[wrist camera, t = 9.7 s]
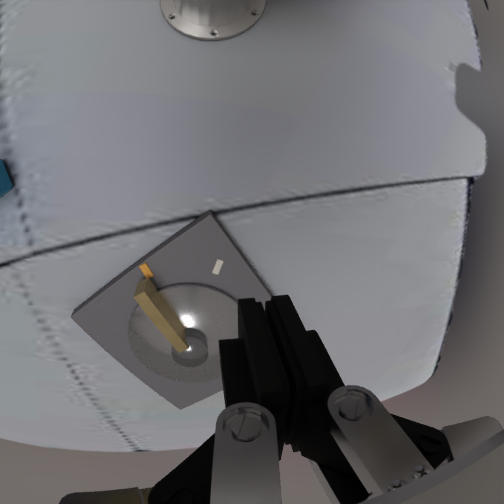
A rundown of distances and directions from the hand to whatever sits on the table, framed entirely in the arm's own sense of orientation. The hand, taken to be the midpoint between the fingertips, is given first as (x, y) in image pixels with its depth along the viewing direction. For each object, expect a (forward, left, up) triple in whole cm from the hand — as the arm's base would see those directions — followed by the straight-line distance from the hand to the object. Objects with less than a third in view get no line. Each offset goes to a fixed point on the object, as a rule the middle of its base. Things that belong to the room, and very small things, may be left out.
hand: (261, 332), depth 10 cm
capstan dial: (+16, +15, -27) cm, 34 cm away
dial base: (+16, +16, -29) cm, 37 cm away
